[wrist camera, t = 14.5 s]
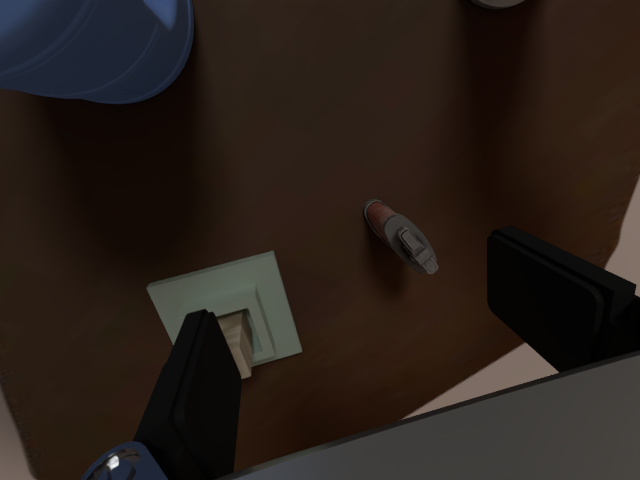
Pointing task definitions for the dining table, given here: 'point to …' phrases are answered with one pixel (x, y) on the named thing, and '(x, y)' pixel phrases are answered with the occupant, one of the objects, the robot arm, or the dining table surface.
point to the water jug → (94, 47)
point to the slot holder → (234, 302)
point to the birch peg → (238, 339)
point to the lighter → (401, 236)
